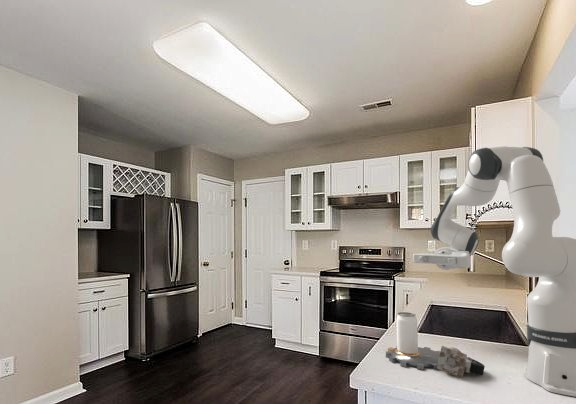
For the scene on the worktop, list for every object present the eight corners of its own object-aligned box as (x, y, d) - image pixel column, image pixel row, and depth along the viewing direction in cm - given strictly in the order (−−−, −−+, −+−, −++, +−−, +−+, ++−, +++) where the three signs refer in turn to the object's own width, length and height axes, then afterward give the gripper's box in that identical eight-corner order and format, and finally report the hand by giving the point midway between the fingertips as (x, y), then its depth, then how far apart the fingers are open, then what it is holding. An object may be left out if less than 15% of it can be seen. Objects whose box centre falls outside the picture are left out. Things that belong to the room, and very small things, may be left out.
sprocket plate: (457, 357, 112) (457, 353, 112) (435, 375, 98) (435, 370, 98) (401, 345, 125) (401, 340, 125) (375, 358, 111) (374, 354, 111)
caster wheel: (482, 379, 102) (480, 386, 93) (441, 363, 108) (436, 369, 99) (486, 356, 102) (485, 361, 94) (445, 341, 108) (441, 345, 100)
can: (405, 346, 118) (404, 311, 119) (422, 352, 113) (421, 314, 114) (393, 350, 115) (392, 313, 116) (409, 356, 109) (408, 317, 110)
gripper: (420, 249, 145) (406, 250, 135) (473, 251, 131) (462, 252, 121) (420, 264, 145) (406, 267, 134) (474, 268, 131) (463, 271, 121)
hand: (433, 260), depth 128 cm, fingers open, 8 cm apart
